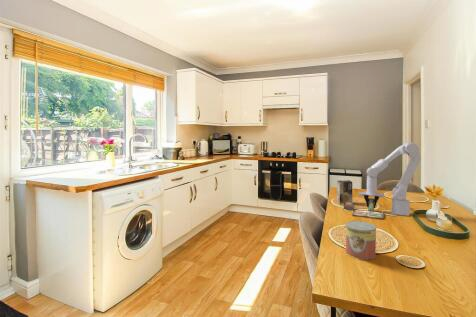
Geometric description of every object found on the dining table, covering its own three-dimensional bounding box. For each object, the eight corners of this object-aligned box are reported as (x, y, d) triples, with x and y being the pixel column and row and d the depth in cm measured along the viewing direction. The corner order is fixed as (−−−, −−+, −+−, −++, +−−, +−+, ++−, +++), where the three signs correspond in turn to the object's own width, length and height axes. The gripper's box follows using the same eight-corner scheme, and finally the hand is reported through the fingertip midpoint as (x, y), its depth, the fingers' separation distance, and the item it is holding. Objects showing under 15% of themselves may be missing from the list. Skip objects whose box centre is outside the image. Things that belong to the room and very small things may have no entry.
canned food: (342, 255, 108) (342, 226, 107) (349, 245, 117) (350, 219, 116) (372, 262, 101) (373, 232, 100) (378, 252, 110) (378, 224, 109)
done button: (352, 206, 175) (352, 203, 175) (351, 207, 172) (351, 204, 172) (346, 205, 176) (346, 202, 176) (346, 206, 174) (346, 203, 173)
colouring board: (383, 214, 162) (383, 212, 161) (383, 219, 151) (383, 217, 151) (354, 210, 170) (354, 209, 170) (352, 215, 159) (352, 214, 159)
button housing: (354, 208, 175) (354, 204, 175) (353, 210, 170) (353, 206, 170) (344, 207, 178) (344, 203, 178) (343, 209, 173) (343, 205, 173)
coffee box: (349, 202, 192) (349, 180, 191) (352, 204, 186) (352, 181, 185) (336, 201, 193) (336, 180, 192) (339, 204, 187) (339, 181, 186)
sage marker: (374, 210, 169) (374, 198, 169) (373, 212, 166) (374, 199, 166) (368, 210, 171) (368, 198, 170) (368, 211, 168) (368, 199, 167)
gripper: (358, 186, 167) (358, 207, 169) (384, 188, 160) (384, 210, 161) (359, 184, 174) (359, 205, 175) (384, 186, 166) (384, 207, 167)
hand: (371, 207), depth 168 cm, fingers closed on sage marker, 3 cm apart
